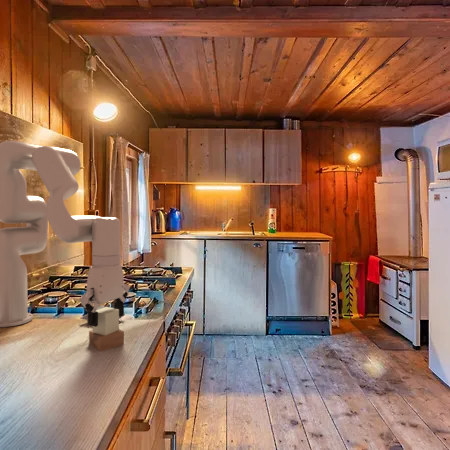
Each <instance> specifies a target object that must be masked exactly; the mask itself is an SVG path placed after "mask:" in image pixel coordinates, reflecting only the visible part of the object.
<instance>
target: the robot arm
mask: <svg viewBox="0 0 450 450" xmlns="http://www.w3.org/2000/svg"><path fill="white" fill-rule="evenodd" d="M81 165H82V164H81V160H80V157H79V156H78V154H77V153H76V152H74V151H72V150H70V149H66V148H61V147H58V146H56V147H55V146H51V145H41V144H39V145H38V144H33V143H29V142H24V141H20V140H19V141H17V140H6V141H2V142H0V222H1V223H3V224H26V226H14V227H2V228H0V328H8V327H17V326H19V325H24V324H27V323H29V322H30V321H32V320H33V318H34V315H33V314H32V313H30V312H28V269H27V265H26V263H25V262H24V260H23V259H22V257H21V256H23V255H30V254H38V253H40V252H43V251H44V250H45V248H46V246H47V243H48V236H49V235H48V234H49V233H48V232H49V231H48V230H49V225H50V226H51V228H52V230H53V232H54V234H55V235H56V237H57V238H58V239H59V240H60V241H62V242H64V243H67V244H75V243H85V242H86V243H87V242H91V244H92V246H91V250H92V251H91V257H92V260H91V262H92V263H91V264H92V265H91V266H90V267H89V269H88V273H87V281H86V292H85V293H84V294H82V295H81V297H79V302H80V303H81V306H82V308H83V309H84V310H85V312H87V314H88V321H87V325H88V326H90V327H93V326H94V327H96V326H98V312H96V310H97V308H98V307H100V305H101V304H105V303H108V302H111V301H114V300H115V301H114V307H113V308H114V309H119V316H121V318H123V317H124V316H125V315H124V314H125V312H124V311H125V303H126V299H127V298H128V296H129V291H130V288H131V286H130V285H129V284H126V283H125V282H124V281H125V280H124V272H123V267H122V264H121V259H122V254H121V220H120V219H119V218H118V217H115V216H114V217H112V216H99V215H71V214H70V212H69V211H68V209H67V206H66V204H65V202H64V201H65V200H67V199H69V198H71V197H72V196H74V195H75V194H76V193H77V192H78V190H79V182H78V181H77V179H76V177H75V176H76V175H78V173H79V172H80V171H81V170H80V169H81ZM21 170H28V171H36V173H37V174H38V176H39V177H40V179H41V182H42V183H43V184H44V186H45V189H46V190H47V192H48V194H49V196H48V198H47V202H46V201H45V200H44V198H42V197H41V196H37V195H27V190H28V189H27V186H28V184H27V180H26V178H25V176H24V174H23V172H22V171H21Z"/></svg>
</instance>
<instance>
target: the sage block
mask: <svg viewBox="0 0 450 450" xmlns="http://www.w3.org/2000/svg"><path fill="white" fill-rule="evenodd" d="M104 307H105V308H102V309H98V310H96V312H98V326H96V327H94V326H92V330H93V333H97V334H101V335H105V336H106V335H108V334H111V333H113V332H115V331H118V330H119V329H120V319H119V309H114V307H111V308H109V307H110V306H104Z"/></svg>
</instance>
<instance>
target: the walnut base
mask: <svg viewBox="0 0 450 450" xmlns="http://www.w3.org/2000/svg"><path fill="white" fill-rule="evenodd" d="M88 342H89V343H88V344H89V345H90V346H92V347H94V349H96V350H97V351H99V352H103V351H106V350H110V349H113V348H116V347H120V346H123V345H125V331H124V330H122V329H120V328H119V330H118V331H115V332H113V333H111V334H108V335H106V336H105V335H101V334H97V333H93V329H91V330H89V331H88Z"/></svg>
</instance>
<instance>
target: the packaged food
mask: <svg viewBox="0 0 450 450" xmlns="http://www.w3.org/2000/svg"><path fill="white" fill-rule="evenodd" d="M105 307H106V306H104V305H103V306H98V308H97V310H98V309H102V308H105ZM108 307H109V308H112V307H111V306H108ZM125 315H126V314H125V313H124V316H125ZM120 319H122V317H121V316H119V320H120ZM80 320H85V321H86V322H88V313H87V314H85V315H83V316H81V317H80Z"/></svg>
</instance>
